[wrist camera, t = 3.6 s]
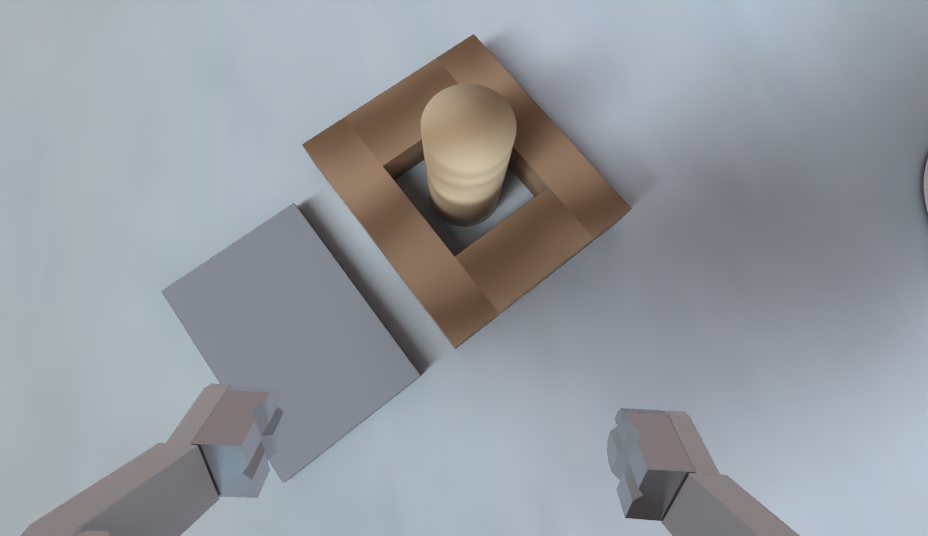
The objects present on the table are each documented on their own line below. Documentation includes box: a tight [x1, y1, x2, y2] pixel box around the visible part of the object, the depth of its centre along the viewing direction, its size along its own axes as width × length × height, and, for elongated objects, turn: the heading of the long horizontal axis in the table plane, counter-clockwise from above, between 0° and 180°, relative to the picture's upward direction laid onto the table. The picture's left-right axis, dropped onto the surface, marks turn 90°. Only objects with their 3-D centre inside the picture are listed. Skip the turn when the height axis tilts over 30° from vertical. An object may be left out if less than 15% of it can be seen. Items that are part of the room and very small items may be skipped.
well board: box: [302, 34, 631, 349], centre depth 27 cm, size 15×13×2 cm
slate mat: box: [161, 203, 421, 483], centre depth 25 cm, size 13×9×1 cm
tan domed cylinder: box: [421, 84, 517, 227], centre depth 24 cm, size 4×4×8 cm
